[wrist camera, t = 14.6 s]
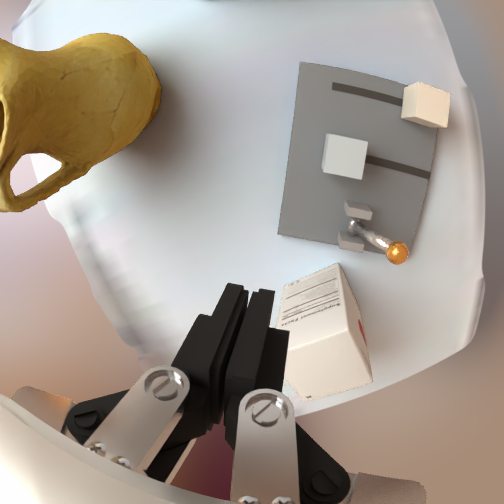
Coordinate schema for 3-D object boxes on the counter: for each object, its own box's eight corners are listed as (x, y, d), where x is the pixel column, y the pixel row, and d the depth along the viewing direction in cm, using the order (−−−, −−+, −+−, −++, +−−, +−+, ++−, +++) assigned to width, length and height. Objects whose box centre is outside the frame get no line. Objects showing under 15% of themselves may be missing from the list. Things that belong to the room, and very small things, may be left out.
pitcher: (200, 68, 30) (36, 30, 8) (140, 180, 39) (-3, 250, 17) (118, 31, 29) (-21, 13, 7) (74, 130, 38) (-53, 166, 16)
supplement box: (361, 309, 40) (375, 384, 27) (308, 329, 43) (302, 404, 30) (339, 260, 38) (350, 329, 24) (282, 284, 41) (266, 357, 28)
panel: (300, 64, 29) (298, 54, 24) (436, 98, 26) (453, 95, 22) (278, 230, 38) (274, 244, 33) (404, 254, 36) (414, 270, 31)
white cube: (326, 133, 30) (329, 133, 26) (359, 140, 30) (368, 141, 25) (321, 166, 32) (323, 172, 27) (354, 173, 31) (361, 179, 27)
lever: (345, 213, 32) (401, 247, 24) (359, 214, 33) (415, 246, 25) (340, 232, 33) (394, 269, 25) (355, 232, 34) (408, 267, 26)
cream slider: (404, 87, 26) (418, 81, 21) (432, 97, 25) (450, 93, 21) (400, 118, 27) (415, 116, 23) (429, 127, 27) (447, 127, 22)
